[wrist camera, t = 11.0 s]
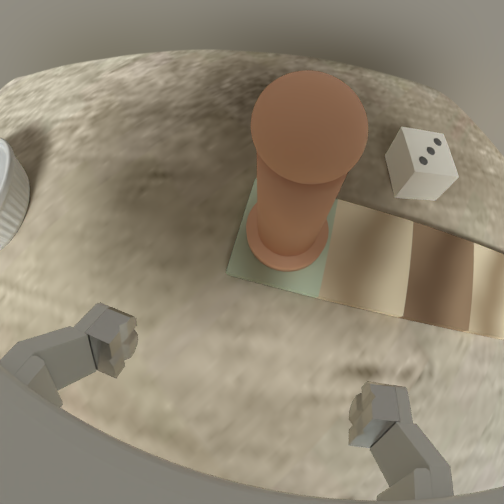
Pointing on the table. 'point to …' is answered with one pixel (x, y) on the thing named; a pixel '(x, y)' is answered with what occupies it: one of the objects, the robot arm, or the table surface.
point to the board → (391, 270)
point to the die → (420, 164)
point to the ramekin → (11, 193)
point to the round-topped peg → (301, 164)
